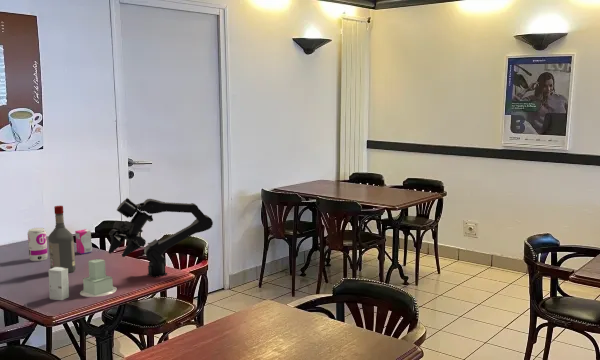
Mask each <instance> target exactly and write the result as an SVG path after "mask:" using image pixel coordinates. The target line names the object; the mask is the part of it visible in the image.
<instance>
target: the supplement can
mask: <svg viewBox="0 0 600 360" xmlns="http://www.w3.org/2000/svg"><path fill="white" fill-rule="evenodd" d="M27 245H28V256H29V260H30V261H31V262H42V261H45V260H47V259H48V258H49V253H48V242H47V232H46V230H45V228H43V227H34V228H30V229H28V230H27Z"/></svg>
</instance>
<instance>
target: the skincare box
mask: <svg viewBox="0 0 600 360" xmlns="http://www.w3.org/2000/svg"><path fill="white" fill-rule="evenodd" d="M68 282H69V273H68V268H62V267H54V268H52V269H51V268H50V269H48V290H49V291H48V292H49V299H50V300H56V301H63V300H66V299H67V298H70V291H69V287H70V286H69V285H70V284H69V283H68Z"/></svg>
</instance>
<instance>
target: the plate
mask: <svg viewBox="0 0 600 360" xmlns="http://www.w3.org/2000/svg"><path fill="white" fill-rule="evenodd" d="M117 290H118V289H117V287H116V286H113V290H112V291H109V292H106V293H102V294H99V295H92V294H89V293H86V292H84V289H82V290H81V291H79V294H80V296H83V297H88V298H95V297H96V298H98V297H104V296H108V295H111V294H114V293H115V292H116V291H117Z"/></svg>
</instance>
